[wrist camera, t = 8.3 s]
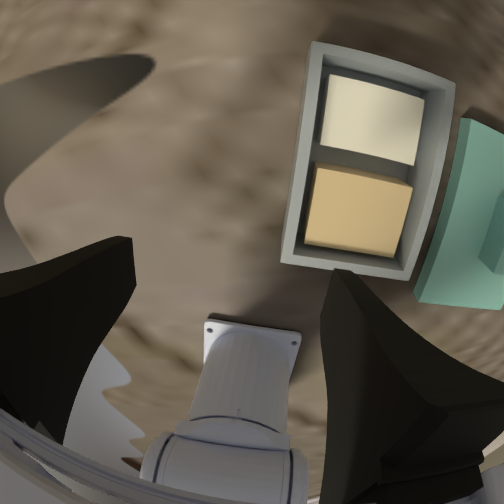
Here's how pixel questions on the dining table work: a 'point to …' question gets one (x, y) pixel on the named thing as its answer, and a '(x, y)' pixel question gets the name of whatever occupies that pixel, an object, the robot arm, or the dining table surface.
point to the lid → (469, 226)
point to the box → (365, 162)
